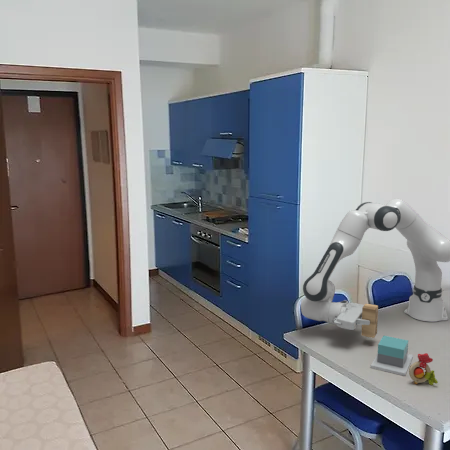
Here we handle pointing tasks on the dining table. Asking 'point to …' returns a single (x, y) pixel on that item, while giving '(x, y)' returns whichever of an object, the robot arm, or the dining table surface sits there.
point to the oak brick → (372, 315)
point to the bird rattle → (418, 372)
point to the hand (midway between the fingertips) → (372, 319)
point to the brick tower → (392, 356)
